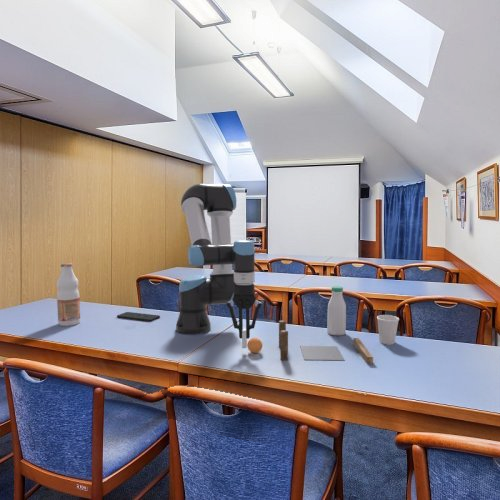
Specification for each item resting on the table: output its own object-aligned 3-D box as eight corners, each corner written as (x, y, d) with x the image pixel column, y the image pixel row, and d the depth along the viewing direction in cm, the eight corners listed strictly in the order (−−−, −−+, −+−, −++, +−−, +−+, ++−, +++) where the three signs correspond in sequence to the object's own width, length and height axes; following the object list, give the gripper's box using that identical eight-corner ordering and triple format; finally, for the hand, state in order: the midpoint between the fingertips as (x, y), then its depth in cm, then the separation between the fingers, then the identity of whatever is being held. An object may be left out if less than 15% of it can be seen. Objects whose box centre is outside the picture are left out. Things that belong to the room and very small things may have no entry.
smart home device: (150, 319, 184) (116, 315, 191) (150, 323, 184) (116, 318, 192) (160, 315, 192) (127, 311, 199) (160, 318, 192) (127, 314, 199)
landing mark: (304, 360, 137) (304, 359, 137) (300, 346, 151) (300, 345, 151) (344, 360, 137) (344, 359, 137) (336, 346, 151) (336, 346, 150)
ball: (248, 339, 141) (263, 342, 141) (250, 334, 146) (264, 337, 146) (245, 353, 142) (259, 357, 141) (246, 347, 147) (260, 351, 147)
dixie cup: (386, 346, 150) (387, 321, 149) (371, 340, 158) (372, 316, 157) (402, 343, 154) (403, 319, 153) (387, 337, 161) (388, 313, 160)
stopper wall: (367, 364, 133) (367, 356, 133) (353, 344, 153) (353, 338, 153) (373, 364, 133) (373, 357, 133) (358, 344, 153) (358, 338, 153)
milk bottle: (345, 336, 163) (347, 289, 161) (327, 335, 164) (327, 288, 162) (345, 331, 170) (346, 285, 168) (327, 330, 172) (328, 285, 170)
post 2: (280, 360, 137) (280, 332, 136) (280, 357, 139) (280, 330, 138) (288, 360, 137) (288, 332, 136) (287, 357, 139) (287, 330, 138)
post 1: (278, 348, 149) (279, 322, 148) (278, 345, 152) (278, 320, 151) (285, 348, 149) (286, 322, 148) (285, 345, 152) (285, 320, 151)
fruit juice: (53, 325, 178) (50, 264, 175) (67, 320, 187) (64, 262, 185) (72, 327, 176) (69, 265, 174) (84, 321, 186) (82, 262, 183)
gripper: (225, 285, 138) (225, 350, 140) (261, 285, 138) (261, 350, 140) (227, 281, 146) (227, 343, 148) (262, 281, 145) (262, 343, 147)
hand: (244, 346), depth 144 cm, fingers closed
